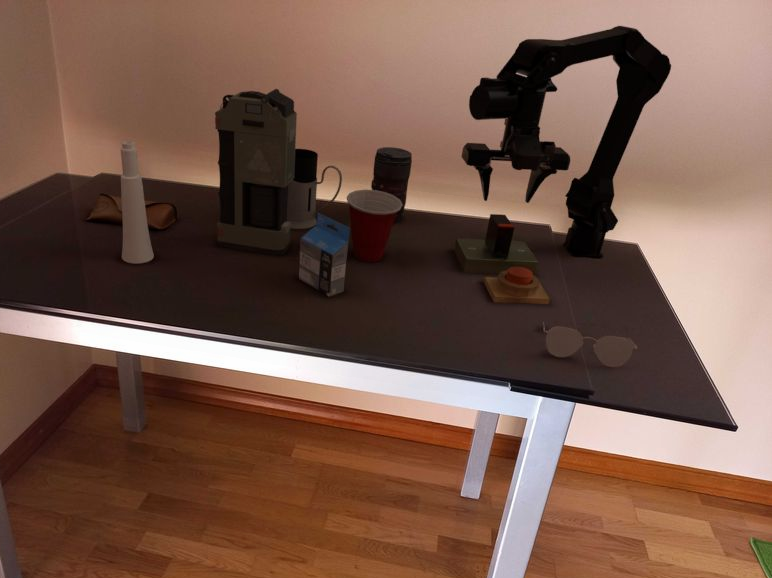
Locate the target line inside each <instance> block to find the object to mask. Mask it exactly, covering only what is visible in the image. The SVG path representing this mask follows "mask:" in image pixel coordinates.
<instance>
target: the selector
mask: <svg viewBox="0 0 772 578" xmlns="http://www.w3.org/2000/svg"><path fill="white" fill-rule="evenodd" d="M514 232H515V227H514V225H513V224H512V222H511V221H510V219H509V218H508V216H507V215H506V214H501V213H500V214H499V213H490V214H489V219H488V224H487V228H486V233H485V239H484V240H485V243H486V245H487V247H488V249H489V250H490V252H491V254H492V256H498V257H508V255H509V250H510V246H511V241H513V237H514Z"/></svg>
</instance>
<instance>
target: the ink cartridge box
mask: <svg viewBox="0 0 772 578" xmlns="http://www.w3.org/2000/svg"><path fill="white" fill-rule="evenodd" d="M329 226H333V228H334V229H337V231H336V230H334V229H333V228H330V227H329ZM350 232H351V227H349V226H346V225H345V224H343V223H340V222H339V221H336V220H334V219H332V218H331V217H328V216H326V215H324V214H322V213H320V212H317V213H316V225H315V226H313V227H311V229H310V230H309V231H308V232H306V233H305V234H304V235H303V236H301V238H300V242H299V243H300V245H299V246H300V247H299V248H300V249H299V267H298V279H299V280H300V281H301V282H303V283H304V284H307V285H309V286H311V287H312V288H314V289H315V290H317V291H318V292H321V293H322V294H324V295H325V296H327V297H334V296H337V295H339V294H342V293H344V291H345V282H346V281H345V280H346V268H347V260H348V259H347V257H348V248H349V239H350Z"/></svg>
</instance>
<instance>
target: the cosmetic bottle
mask: <svg viewBox="0 0 772 578" xmlns="http://www.w3.org/2000/svg"><path fill="white" fill-rule="evenodd" d="M135 143H136V142H135V141H132V140H124V141H122V142H121V146H122V147H121V148H120V157H121V169H122V173H121V175H120V190H121V191H120V194H121V196H120V197H121V198H122V219H123V225H122V250H121V260H122V261H124V262H126V263H127V264H136V265H137V264H144V263H149V262H150V261H152V260H153V259H154V257H155V254H154V251H153V247H152V242H151V237H150V231H149V229H148V224H147V217H146V209H145V201H144V200H145V194H144V193H145V192H144V184H143V178H142V174H140V171H139V163H138V162H139V160H138V149H137V147H136V146H135V145H136V144H135Z"/></svg>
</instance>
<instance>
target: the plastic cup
mask: <svg viewBox="0 0 772 578" xmlns="http://www.w3.org/2000/svg"><path fill="white" fill-rule="evenodd" d="M346 202H347V204H348V208H349V219H350V220H349V221H350V233H351V241H352V253H353V256H354V258H355V259H357V260H360V261H363V262H367V263H369V262H370V263H371V262H372V263H373V262H378V261H380V260H382V259H383V256H384V253H385V250H386V246H387V243H388V242H389V238H390V235H391V232H392V228H393V225H394V223H395V222H394V219H395V217H396V215H397V213H398V211H400V209H401V207H402V205H403V204H402V202H401V200H399V199H398V198H397V197H395V196H393V195H391V194H388V193H386V192H382V191H377V190H372V189H358V190H354V191H352V192H349V193H348V194H347V196H346Z"/></svg>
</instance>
